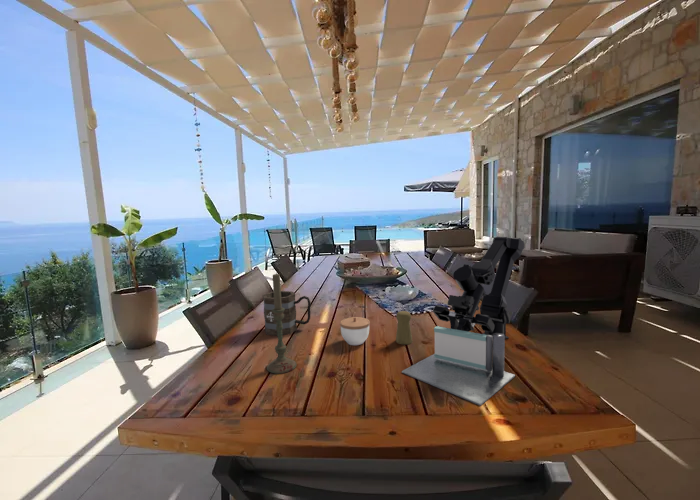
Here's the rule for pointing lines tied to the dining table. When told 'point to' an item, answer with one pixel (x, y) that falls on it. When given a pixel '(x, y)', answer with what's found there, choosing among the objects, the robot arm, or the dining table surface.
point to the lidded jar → (355, 330)
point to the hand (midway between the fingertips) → (452, 341)
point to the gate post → (465, 375)
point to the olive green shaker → (403, 328)
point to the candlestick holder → (279, 334)
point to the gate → (464, 347)
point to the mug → (289, 312)
